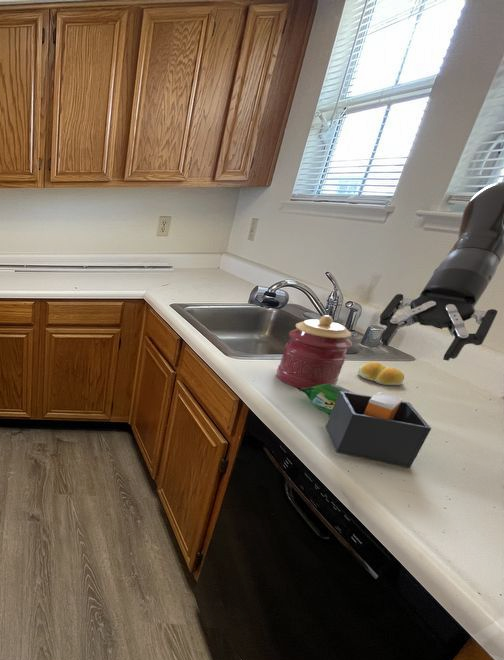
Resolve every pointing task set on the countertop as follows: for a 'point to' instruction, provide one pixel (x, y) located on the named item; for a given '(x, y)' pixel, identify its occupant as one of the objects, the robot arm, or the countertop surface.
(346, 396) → the storage bin
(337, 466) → the countertop surface
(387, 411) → the drink carton
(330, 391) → the snack package
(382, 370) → the bread roll
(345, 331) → the kitchen canister
